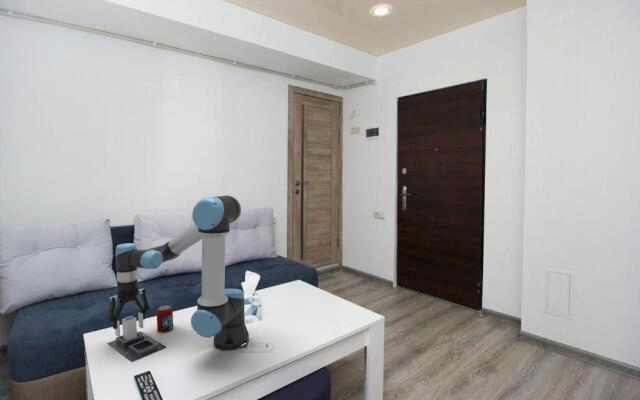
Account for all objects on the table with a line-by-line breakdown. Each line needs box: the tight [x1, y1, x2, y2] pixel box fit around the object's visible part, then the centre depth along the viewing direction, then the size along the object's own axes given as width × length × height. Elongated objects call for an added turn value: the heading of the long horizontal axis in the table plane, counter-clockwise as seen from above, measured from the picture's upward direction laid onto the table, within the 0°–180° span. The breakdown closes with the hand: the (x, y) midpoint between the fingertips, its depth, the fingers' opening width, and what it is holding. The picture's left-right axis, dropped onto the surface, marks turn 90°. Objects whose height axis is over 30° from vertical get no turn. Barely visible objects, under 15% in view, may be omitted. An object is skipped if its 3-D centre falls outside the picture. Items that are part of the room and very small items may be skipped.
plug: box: [121, 315, 138, 341], centre depth 143 cm, size 4×4×11 cm
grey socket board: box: [106, 331, 168, 363], centre depth 140 cm, size 24×14×4 cm, turn 53°
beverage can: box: [156, 304, 174, 334], centre depth 154 cm, size 7×7×12 cm
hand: (129, 331), depth 143 cm, fingers open, 9 cm apart
